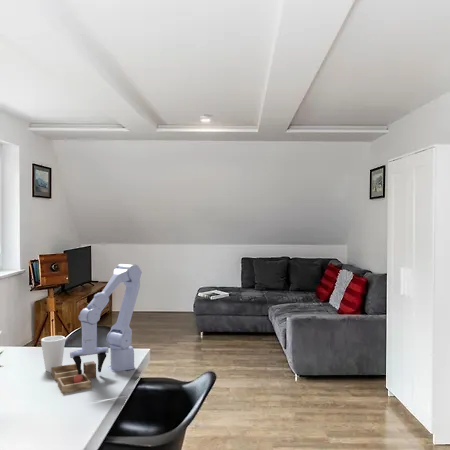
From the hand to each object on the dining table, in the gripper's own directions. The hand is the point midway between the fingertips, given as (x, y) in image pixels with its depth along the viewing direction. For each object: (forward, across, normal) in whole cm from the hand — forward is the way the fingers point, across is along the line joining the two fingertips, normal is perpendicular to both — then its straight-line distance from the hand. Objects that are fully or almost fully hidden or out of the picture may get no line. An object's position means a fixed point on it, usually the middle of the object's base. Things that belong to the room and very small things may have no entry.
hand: (89, 373), depth 178 cm
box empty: (+2, +7, -8) cm, 11 cm away
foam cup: (+2, +10, -20) cm, 22 cm away
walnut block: (+2, 0, 0) cm, 2 cm away
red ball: (+2, +5, +6) cm, 8 cm away
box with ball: (+2, +7, +8) cm, 11 cm away
